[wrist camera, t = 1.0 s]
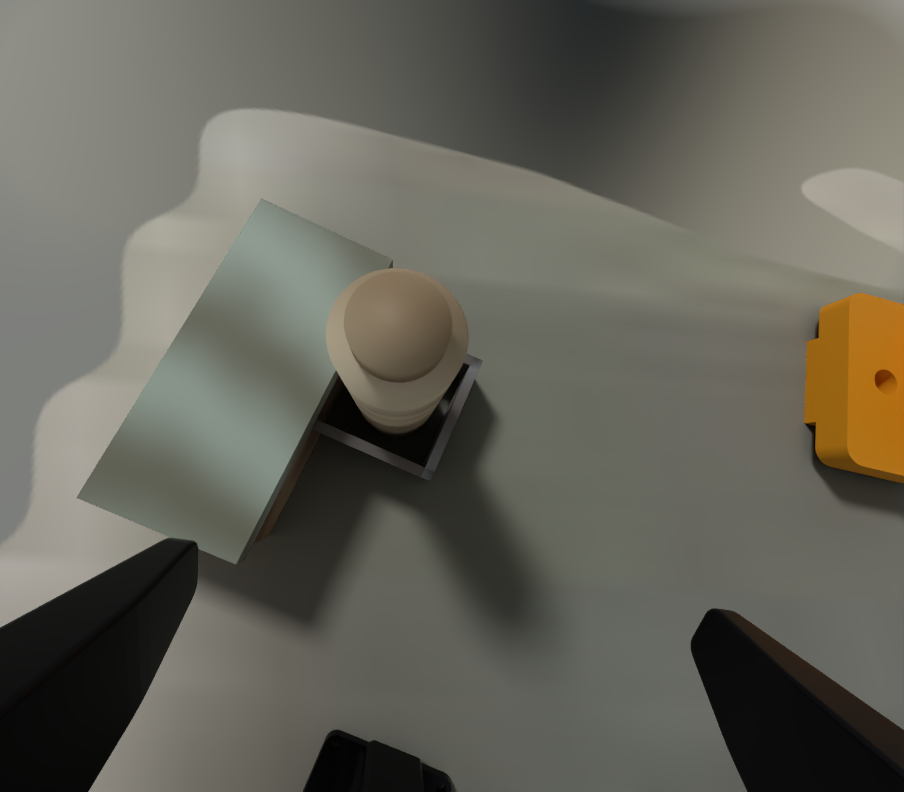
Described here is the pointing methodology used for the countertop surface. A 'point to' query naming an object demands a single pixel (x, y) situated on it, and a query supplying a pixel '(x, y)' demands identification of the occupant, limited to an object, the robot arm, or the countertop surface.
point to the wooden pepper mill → (397, 346)
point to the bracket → (858, 386)
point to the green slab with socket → (246, 393)
